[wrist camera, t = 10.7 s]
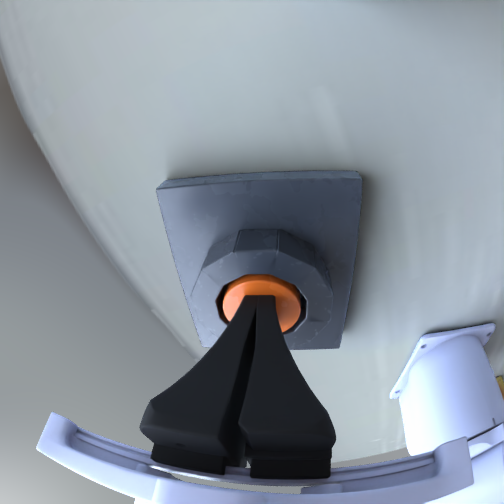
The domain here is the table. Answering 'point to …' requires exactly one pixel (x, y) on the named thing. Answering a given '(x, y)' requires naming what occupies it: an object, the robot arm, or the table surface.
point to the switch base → (266, 244)
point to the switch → (265, 285)
